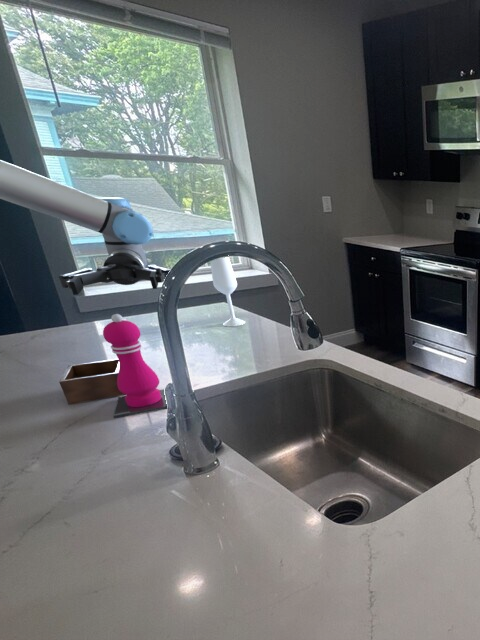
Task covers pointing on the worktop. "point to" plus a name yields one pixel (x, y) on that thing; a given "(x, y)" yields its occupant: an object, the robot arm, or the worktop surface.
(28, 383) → the worktop surface
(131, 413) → the slate coaster
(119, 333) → the pepper mill
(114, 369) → the mill caddy
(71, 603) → the worktop surface
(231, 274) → the champagne flute
